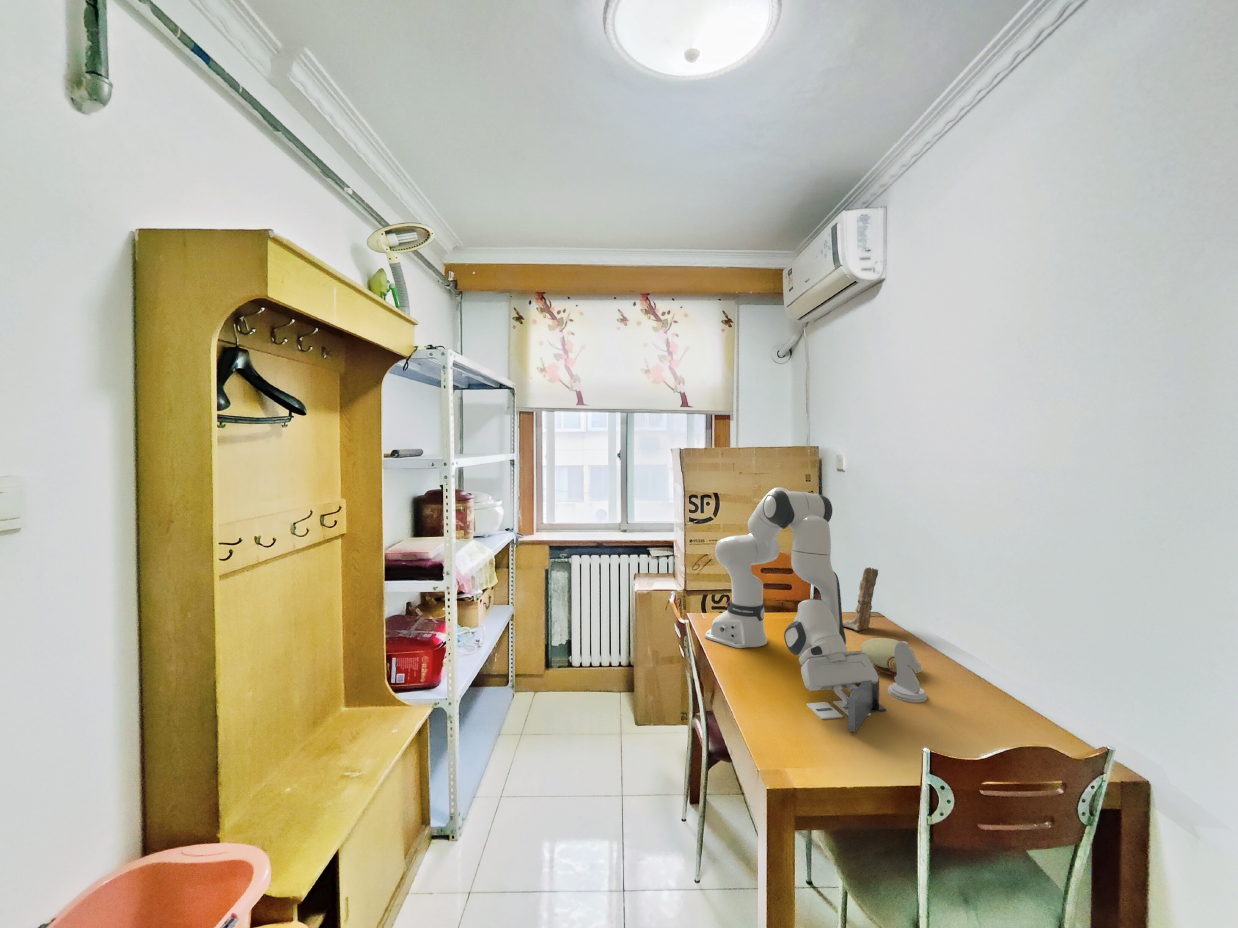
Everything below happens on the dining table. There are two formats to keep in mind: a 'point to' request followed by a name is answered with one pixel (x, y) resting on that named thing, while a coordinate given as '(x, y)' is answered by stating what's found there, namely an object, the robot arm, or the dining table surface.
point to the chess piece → (906, 675)
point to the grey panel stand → (862, 703)
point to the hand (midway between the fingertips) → (851, 704)
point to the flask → (881, 653)
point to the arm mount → (878, 709)
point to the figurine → (864, 601)
